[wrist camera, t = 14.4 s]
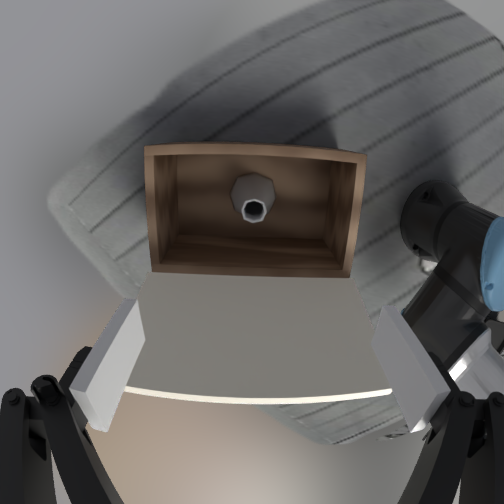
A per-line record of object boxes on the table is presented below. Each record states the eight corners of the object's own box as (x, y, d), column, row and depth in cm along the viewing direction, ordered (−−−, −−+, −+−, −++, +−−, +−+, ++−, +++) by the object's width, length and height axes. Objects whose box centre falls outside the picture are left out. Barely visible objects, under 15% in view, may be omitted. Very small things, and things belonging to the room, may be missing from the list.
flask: (278, 174, 44) (286, 185, 35) (273, 218, 47) (279, 240, 37) (231, 170, 44) (226, 179, 34) (228, 215, 46) (222, 236, 37)
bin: (328, 245, 49) (349, 278, 38) (173, 240, 48) (152, 272, 37) (338, 148, 43) (366, 154, 31) (170, 142, 42) (144, 146, 31)
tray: (433, 388, 67) (439, 400, 62) (428, 341, 59) (437, 355, 54) (505, 338, 62) (513, 347, 57) (510, 284, 54) (521, 293, 49)
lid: (353, 278, 38) (351, 285, 38) (148, 271, 37) (149, 278, 38) (394, 387, 23) (389, 394, 24) (104, 381, 23) (108, 388, 23)
